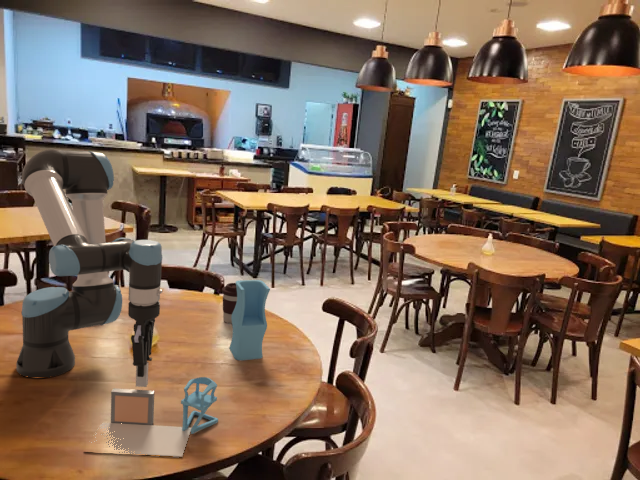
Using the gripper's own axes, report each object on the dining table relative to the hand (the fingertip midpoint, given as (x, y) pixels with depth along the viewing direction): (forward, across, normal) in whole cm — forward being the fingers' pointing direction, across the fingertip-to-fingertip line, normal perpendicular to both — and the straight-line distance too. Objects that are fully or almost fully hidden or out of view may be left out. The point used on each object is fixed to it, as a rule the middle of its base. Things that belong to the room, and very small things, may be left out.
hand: (141, 385), depth 125 cm
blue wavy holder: (+7, +36, -25) cm, 45 cm away
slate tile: (+7, -7, 0) cm, 10 cm away
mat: (+7, -14, -4) cm, 16 cm away
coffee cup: (+7, +64, -17) cm, 67 cm away
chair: (+6, -7, -16) cm, 18 cm away
